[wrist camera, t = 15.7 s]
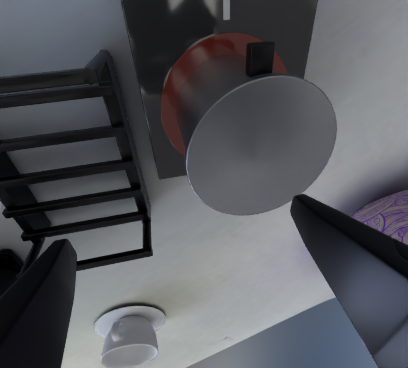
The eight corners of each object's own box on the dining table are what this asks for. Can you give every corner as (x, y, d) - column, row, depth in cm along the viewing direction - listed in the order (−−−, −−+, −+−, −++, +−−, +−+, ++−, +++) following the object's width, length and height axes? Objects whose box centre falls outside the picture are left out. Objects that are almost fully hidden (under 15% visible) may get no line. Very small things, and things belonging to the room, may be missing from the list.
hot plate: (279, 155, 20) (280, 156, 20) (170, 172, 19) (171, 174, 19) (298, 25, 14) (301, 25, 14) (147, 39, 13) (147, 40, 13)
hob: (276, 144, 22) (290, 159, 20) (157, 163, 21) (159, 181, 19) (323, -195, 11) (364, -239, 9) (81, -200, 10) (65, -253, 8)
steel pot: (269, 159, 20) (314, 214, 15) (181, 174, 19) (194, 238, 14) (286, 25, 14) (367, 37, 9) (161, 37, 13) (172, 58, 8)
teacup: (173, 323, 39) (176, 357, 35) (114, 342, 39) (110, 378, 35) (151, 294, 33) (152, 331, 29) (80, 316, 33) (72, 356, 29)
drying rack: (151, 208, 24) (153, 256, 19) (44, 227, 23) (19, 283, 18) (109, 48, 15) (94, 67, 11) (-65, 65, 14) (-163, 94, 10)
